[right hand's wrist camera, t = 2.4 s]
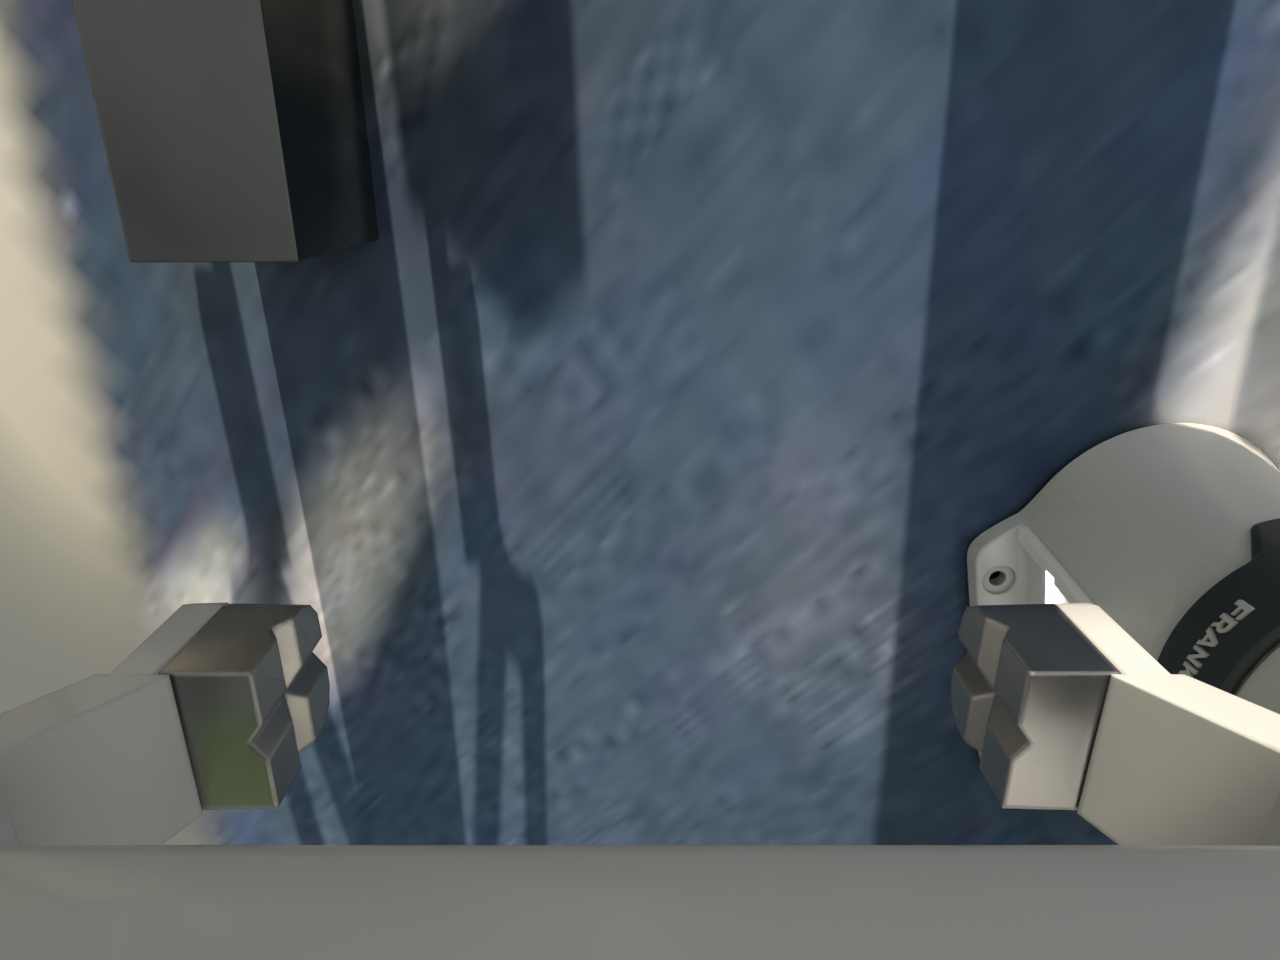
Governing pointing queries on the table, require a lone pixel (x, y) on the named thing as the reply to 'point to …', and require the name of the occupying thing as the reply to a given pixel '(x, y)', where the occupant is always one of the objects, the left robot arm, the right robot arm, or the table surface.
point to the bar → (231, 126)
